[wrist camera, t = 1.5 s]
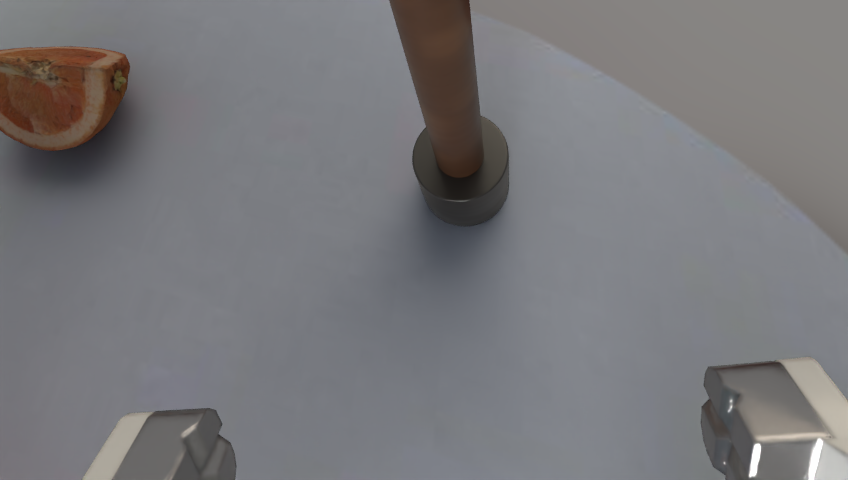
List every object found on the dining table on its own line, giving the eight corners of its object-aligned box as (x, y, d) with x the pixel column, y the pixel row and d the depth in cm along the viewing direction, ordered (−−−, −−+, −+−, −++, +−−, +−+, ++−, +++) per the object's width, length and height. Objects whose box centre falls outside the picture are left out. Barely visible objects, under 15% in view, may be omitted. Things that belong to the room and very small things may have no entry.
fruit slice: (170, 65, 36) (119, 13, 32) (139, 172, 35) (80, 134, 30) (45, 55, 38) (-22, 3, 33) (10, 157, 36) (-66, 118, 32)
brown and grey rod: (508, 145, 32) (508, -122, 16) (508, 226, 31) (508, 27, 15) (424, 147, 33) (342, -108, 17) (422, 226, 32) (331, 36, 16)
